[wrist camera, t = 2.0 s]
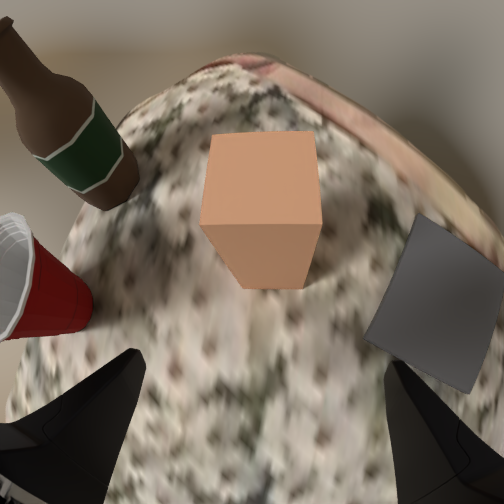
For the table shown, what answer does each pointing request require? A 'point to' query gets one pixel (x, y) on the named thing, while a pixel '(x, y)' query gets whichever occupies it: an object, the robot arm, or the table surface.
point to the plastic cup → (37, 287)
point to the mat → (439, 306)
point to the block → (263, 206)
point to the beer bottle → (65, 126)
